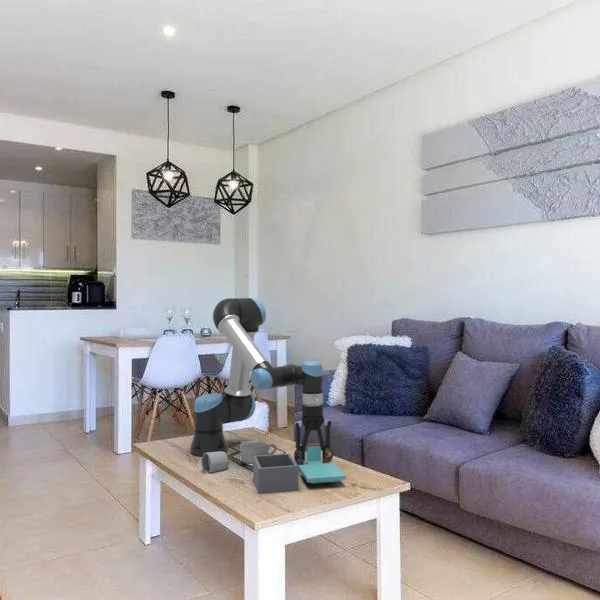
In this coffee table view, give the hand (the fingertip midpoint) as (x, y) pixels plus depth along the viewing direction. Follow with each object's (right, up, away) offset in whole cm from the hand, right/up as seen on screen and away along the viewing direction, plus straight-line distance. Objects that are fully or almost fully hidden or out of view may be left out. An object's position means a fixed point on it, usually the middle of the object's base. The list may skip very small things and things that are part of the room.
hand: (313, 468), depth 200 cm
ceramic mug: (-37, -2, +3) cm, 37 cm away
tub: (-13, -2, -15) cm, 20 cm away
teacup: (-21, -2, +11) cm, 24 cm away
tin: (0, -2, +8) cm, 9 cm away
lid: (+2, +1, -9) cm, 10 cm away
